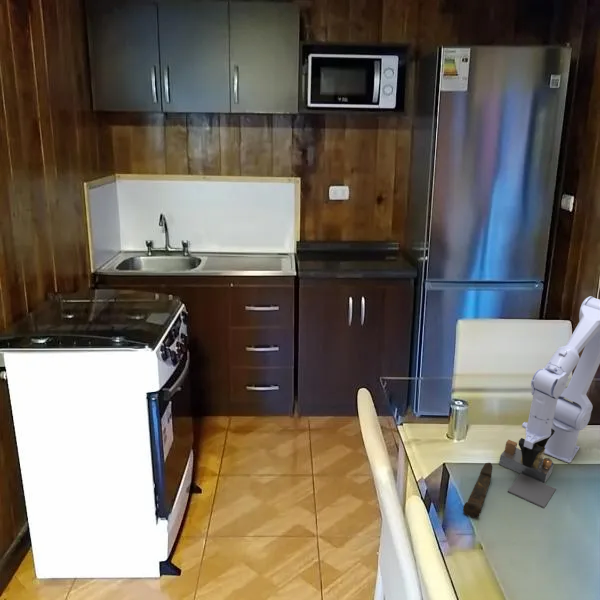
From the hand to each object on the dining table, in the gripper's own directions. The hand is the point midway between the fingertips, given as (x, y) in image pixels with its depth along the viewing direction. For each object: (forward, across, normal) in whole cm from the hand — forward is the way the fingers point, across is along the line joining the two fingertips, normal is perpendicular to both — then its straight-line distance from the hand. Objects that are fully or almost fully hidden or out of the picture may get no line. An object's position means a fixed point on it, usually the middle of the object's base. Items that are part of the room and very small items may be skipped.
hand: (532, 458), depth 157 cm
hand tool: (+4, +18, -7) cm, 20 cm away
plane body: (+4, 0, -1) cm, 4 cm away
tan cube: (+1, 0, 0) cm, 1 cm away
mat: (+4, +8, +3) cm, 9 cm away
